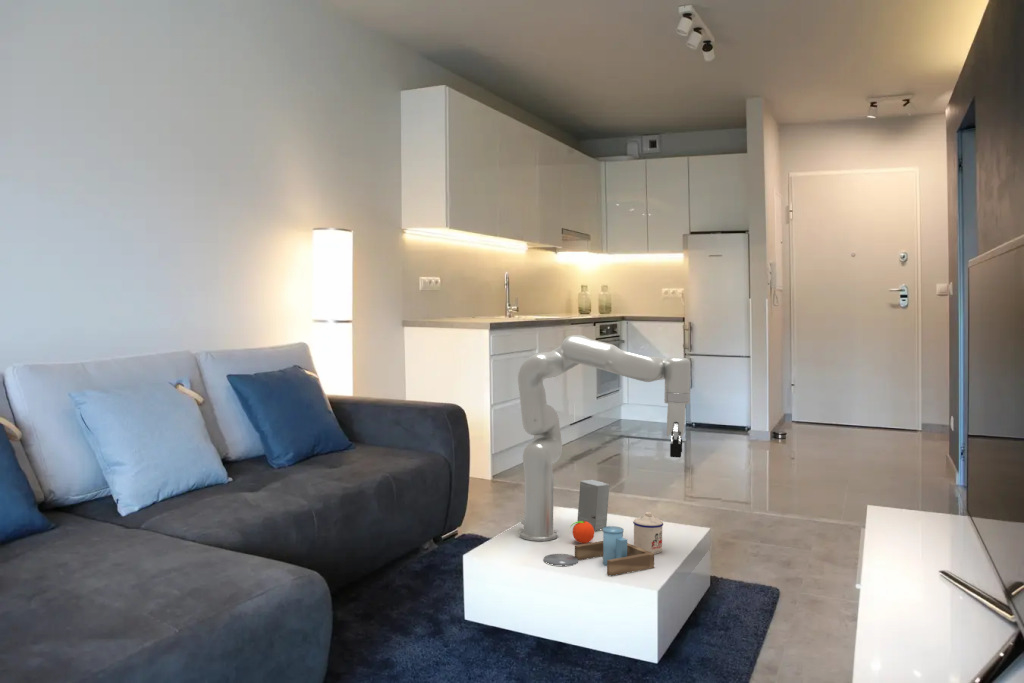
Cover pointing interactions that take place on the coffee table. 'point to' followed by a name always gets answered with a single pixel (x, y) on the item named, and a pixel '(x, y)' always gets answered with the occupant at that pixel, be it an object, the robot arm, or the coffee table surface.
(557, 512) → the coffee table surface
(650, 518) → the teacup with lid
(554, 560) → the coaster
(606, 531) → the jug
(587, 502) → the skincare box
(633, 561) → the open wooden frame
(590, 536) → the clementine
